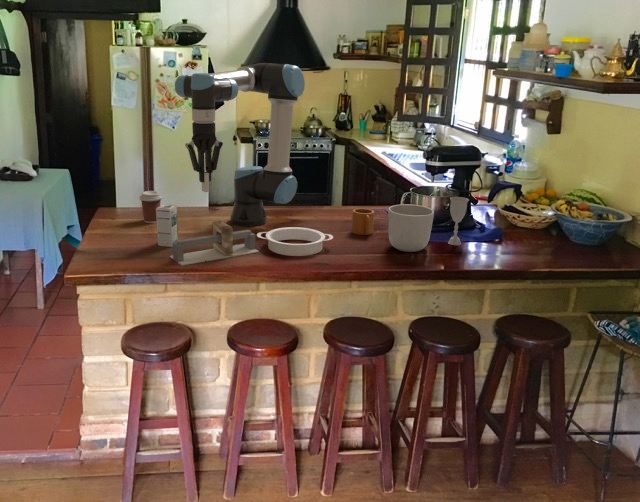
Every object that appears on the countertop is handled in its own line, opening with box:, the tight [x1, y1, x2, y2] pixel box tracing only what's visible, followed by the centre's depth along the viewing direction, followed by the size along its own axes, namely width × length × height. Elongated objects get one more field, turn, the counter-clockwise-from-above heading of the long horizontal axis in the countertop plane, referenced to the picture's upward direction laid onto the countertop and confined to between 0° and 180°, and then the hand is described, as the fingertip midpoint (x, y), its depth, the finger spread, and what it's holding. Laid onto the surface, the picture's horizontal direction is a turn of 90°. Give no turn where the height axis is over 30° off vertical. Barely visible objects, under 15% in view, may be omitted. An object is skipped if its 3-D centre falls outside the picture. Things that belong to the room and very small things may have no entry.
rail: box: [169, 229, 260, 267], centre depth 229 cm, size 30×10×7 cm, turn 125°
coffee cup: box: [139, 190, 163, 224], centre depth 265 cm, size 9×9×12 cm
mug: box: [351, 207, 375, 236], centre depth 261 cm, size 9×12×9 cm
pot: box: [256, 226, 334, 257], centre depth 241 cm, size 29×22×5 cm
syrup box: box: [156, 204, 179, 248], centre depth 237 cm, size 6×6×14 cm
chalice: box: [447, 196, 470, 246], centre depth 251 cm, size 7×7×18 cm
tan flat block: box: [212, 220, 234, 255], centre depth 230 cm, size 3×10×10 cm, turn 35°
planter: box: [387, 203, 435, 253], centre depth 243 cm, size 17×17×15 cm
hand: (205, 191), depth 221 cm, fingers closed
